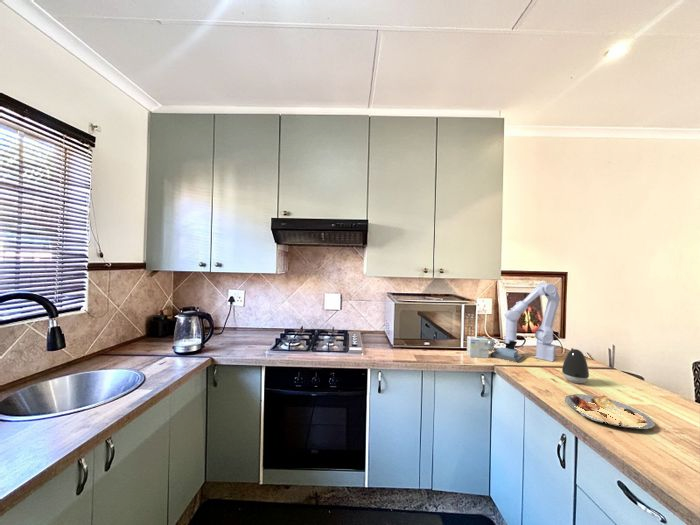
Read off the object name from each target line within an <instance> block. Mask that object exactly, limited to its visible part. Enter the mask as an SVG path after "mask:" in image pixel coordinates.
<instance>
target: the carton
mask: <svg viewBox="0 0 700 525" xmlns="http://www.w3.org/2000/svg"><path fill="white" fill-rule="evenodd" d="M496 350H497V354H499V355H504V356H508V357H513V358H517V357H519V350H516V349H514V350H512V349H508V348H507V347H503V346H502V347H499V348H497V349H496Z"/></svg>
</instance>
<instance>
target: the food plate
mask: <svg viewBox="0 0 700 525" xmlns="http://www.w3.org/2000/svg"><path fill="white" fill-rule="evenodd" d="M564 402H565V403H566V404H567V405H569V406H570V407H571V409H574V410H575V412H577V410H576V409H577V408H576V407H577V406H578V407H580V408H582V409H584V410H585V411H596V410H599V409H600V407H601V408H603V409H605V410H607V411H609V412H611V413H613V414H616V413H614V412H612V411H615V412H616V411H617V412H620V411H623V410H621V409H620V408H619V407H622V408H624V411H627V412H628V413H631V414H633V415H635V414H634V413H638V414H639V415H641V416H643V418H645V419H646V421H645V420H640V419H637V420H636V421H634V422H635V423H647V425H645V426H643V427H640V428H639V427H628V428H630V429H637V430H638V429H642V430H643V429H644V430H649V429H652V428H653V427H655V422H654V421H653V419H652V418H650V416H648V415H647V414H645V413H644V412H642V411H641V410H638V409H637V408H634V407H632V406H630V405H628V404H624V403H622V402H620V401H616V400H612V399H610V398H608V396H606V395H602V396H595V395H589V394H581V393H580V394H578V393H576V394H575V393H574V394H570V395H566V396H565V398H564ZM588 402H591V403H595V404H596V405H595V404H591V403H588ZM574 406H576V407H574ZM581 412H582V411H581ZM581 412H579V411H578V412H577V413H579V414H580V415H582V416H583V417H586V418H588V419H590V420H592V421H595V422H599V423H603V421H604V420H601V419H600V420H601V421H600V420H599V419H598V420H597V418H596V419H594V417H593V418H591V417H592V416H591V417H589V416H590V415H589V416H587V415H586V414H584V413H581ZM597 412H599V411H597ZM599 413H600V414H601V415H603V416H604V417H606V418H607V414H605V413H602V412H599ZM617 414H619V413H617ZM608 415H609V414H608ZM620 415H621V414H620ZM610 417H611V416H610ZM612 418H613V417H612ZM615 420H616V419H615ZM604 422H605V423H604V424H607V423H606V421H604ZM608 425H612V426H616V427H621V428H622V427H623V428H627V427H626V426H627V425H624V424H620V425H621V426H619V425H615V424H610V423H608ZM623 425H624V426H623Z"/></svg>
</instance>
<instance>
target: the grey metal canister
mask: <svg viewBox="0 0 700 525" xmlns="http://www.w3.org/2000/svg"><path fill="white" fill-rule="evenodd" d="M488 339H489V350H488V351H492V350H493V348H494V349H495V347H494V346H495V342H496V340H495V339H492V338H488ZM493 351H494V350H493Z"/></svg>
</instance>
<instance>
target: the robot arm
mask: <svg viewBox="0 0 700 525" xmlns="http://www.w3.org/2000/svg"><path fill="white" fill-rule="evenodd" d="M558 290H559V289H558V287H557V286H556V284H554V283H551V282H550V283H549V282H540V283H539V284H538V285H536V286H535V288H534V289H533V290H532V291H530V293H529V294H528V295H527V296H526V297H525V298H524V299H523V300H519V301H516V302H515V305H513V307H510V309H509V310H507V311H506V312H505V314H504V317H505V318H506V321H505V336H503V339H505V340H504V344H505V346H506V348H508V349H512V350H515V347H516V345H517V344H518V343H517V335H518V334H517V333H518V332H517V331H518V330H517V328H518V320H519V319H520V316H521V315H522V314H523V313H524V312H525V311H526V310H527V309H528V308H529V304H530V303H532V302H534V301H535V299H536V298H538V297H541V296H544V297H545V298H546V299H547V303H546V306H545V310H544V314H543V318H542V322H541V325H540V326H539V327H538V329H537V331H536V332H534V333H535V334H534V336H535V338H536V346H535V348H536V349H535V350H536V351H535V355H534V356H533V358H534V359H540V360H544V361H548V362H549V361H550V362H554V361H555V360H556V359H557V358H556V350H557V348H556V347H557V346H556V344H552V343H553V341H554V331H553V326H554V321H555V318H556V315H557V310H558V306H559V303H560V299H561V298H560V295H559V291H558Z"/></svg>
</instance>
